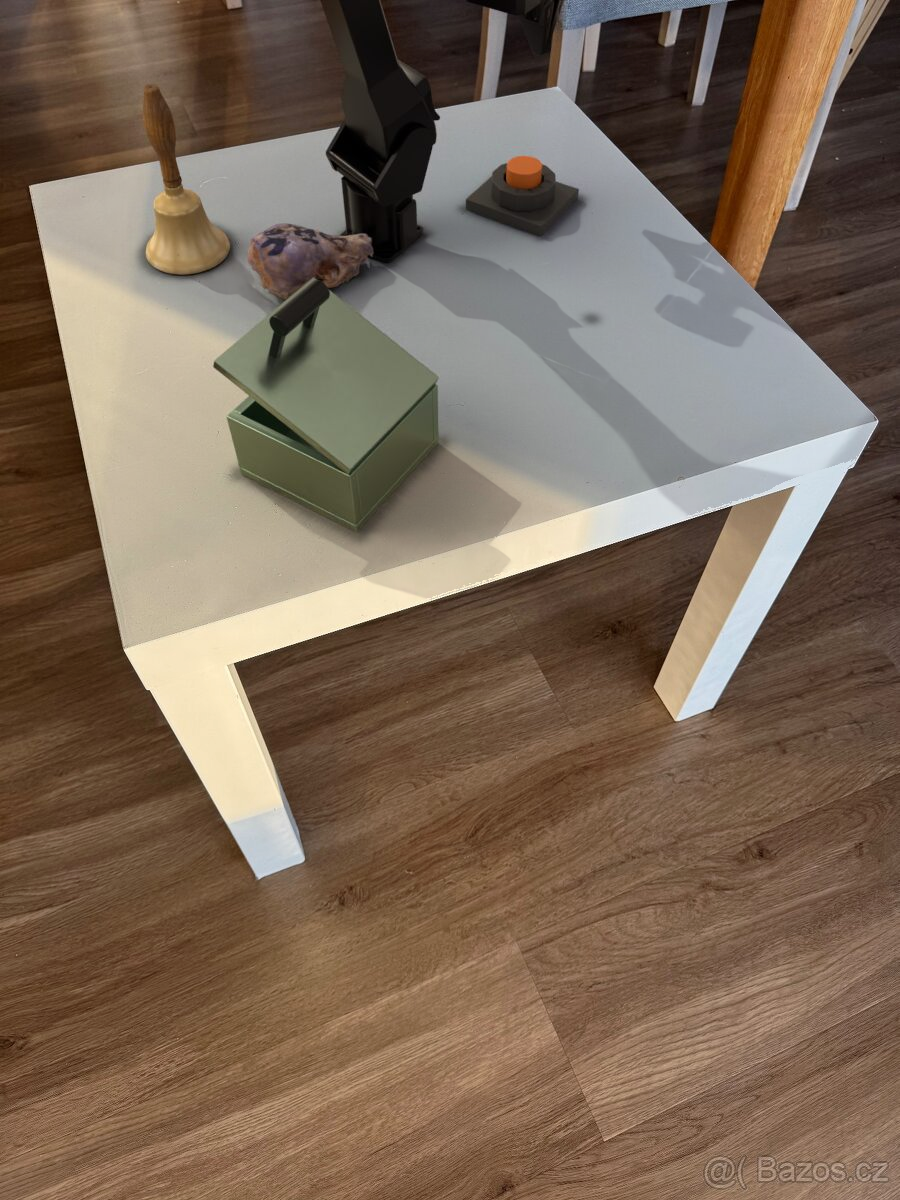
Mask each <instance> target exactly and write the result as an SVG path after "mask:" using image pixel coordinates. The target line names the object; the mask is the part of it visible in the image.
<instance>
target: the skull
mask: <svg viewBox="0 0 900 1200" xmlns="http://www.w3.org/2000/svg"><path fill="white" fill-rule="evenodd" d="M249 241H250V242H249V247H248V252H247V263H248V264H249V266H251V269H252V271H254V272H255V273H256V274H257V275H258V277H259V278H260V280H261V284H260V286H261V287H262V288H263V289H266V290H267V292H268V293H271V294H273V295H274V296H276V297H279V298H281V299H283V300H287V299H288V298H289V297H290V296H292V295H293V294H294V293H295V292H296V291H298V290H299V289H300V288H301V287H302V286H303V285H305V284H306V283H307V282H308V281H309V280H311V279H312V278H313V277H314V278H315V279H316V280H321V281H322V282H323V283H324V284H325V285H326V286H327V287H328V289H330V288H335V287H336V288H337V287H339V286H340V285H341V284H344V283H345V282H347V283H348V282H349V280H351V279H352V278H353V277H356V276H357V275H359V274H360V266H361V264H365V265H366V267H367V268H369V269H371V263H370V259H369V258H368V257H371V258H373V257H372V255H373V253H374V252H373V247H372V245H371V243H372V238H371V237H368V235H367V234H356V235H349V236H339V235H332V234H327V233H324V232H323V231H321V230H320V229H315V228H314V229H313V228H307V227H304V226H302V225H297V224H292V223H287V222H279V223H276V224H274V225H273V226H270V227H269V228H267V229H265V230H264V231H262V232H260V233H258V234H257V235H256V236H254V237H251V238H250V239H249ZM368 255H370V256H368Z"/></svg>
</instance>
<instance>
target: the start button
mask: <svg viewBox="0 0 900 1200" xmlns="http://www.w3.org/2000/svg"><path fill="white" fill-rule="evenodd" d="M506 163H507V172H506V182H507V184H508V185H509V186H512V187H515V188H518V189H531V188H535V187H538V186H539V185H540V184H541V177H542V164H543V163H542V161H541V160H539V159H538V158H536V157H534V156H530V155H519V156H515V157H512V158H511V159H509V160H508V161H507V162H506Z"/></svg>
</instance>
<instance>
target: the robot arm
mask: <svg viewBox="0 0 900 1200" xmlns="http://www.w3.org/2000/svg"><path fill="white" fill-rule="evenodd" d="M319 1H320V4H321V7H322V10H323V12H324V13H323V14H324V16H325V19H326V23H327V24H328V27H329V30H330V33H331V36H332V39H333V41H334V44H335V47H336V50H337V53H338V55H339V59H340V61H341V64H342V65H341V66H342V67H343V71H344V82H343V86H342V91H341V105H342V109H343V115H344V118H343V121H342V122H341V124H340V126H339V128H338V129H337V131H336V133H335V135H334V136H333V138H332V140H331V142H330V143H329V145H328V147H327V148H326V150H325V156H326V159H327V160H328V163H329V165H330V167H331V169H332V170H333V171H335V172H336V173H337V172H338V173H339V174H340V175H342V177H341V178H340V181H341V190H342V191H341V192H342V201H343V212H344V220H345V221H344V222H345V230H344V231H343V232H342V233H340V234H339V235H338V236H349V235H356V234H367V235H368V237H371V238H372V243H371V245H372V247H373V252H374V253H373V255H372V257H371V256H370V255H368V257H371V258H373V259H376V260H379V261H381V262H383V263H391V262H392V261H393V260H394V259H396V257H397V256H399V255H400V254H401V253H402V252H404V251H405V250H406V249H407V248H408V247H409V246H410V245H411V244H412V243H414V241H416V240H417V239H418V238H419V237H421V235H423V234H424V227H423V226H422V225H419V224H418V211H417V210H418V209H417V207H418V206H417V205H418V204H417V200H416V198H414V195H416V194H418V193H421V192H422V190H423V188H424V183H425V180H426V175H427V171H428V167H429V163H430V160H431V156H432V152H433V148H434V145H435V144H436V143H437V136H438V133H437V125H436V122H437V121H440V120H441V116H440V115H439V113H438V112H437V111H436V109H435V106H434V103H433V96H432V87H431V85H430V82H429V79H428V77H426V76H425V75H424V74H422V73H420V72H418V71H417V70H416V69H413V68H412V67H410V66H409V65H408V64H406V63H404V62H403V61H401V60H399V59H398V56H397V54H396V53H397V52H396V50H395V47H394V43H393V40H392V36H391V32H390V28H389V26H388V22H387V18H386V15H385V12H384V9H383V5H382V1H381V0H319ZM465 1H466V2H467V3H469V4H472V5H476V6H480V7H482V8H483V7H484V8H487V9H491V10H495V11H497V12H501V13H505V14H508V15H511V16H516V17H518V19H519V21H520V24H521V26H522V27H521V28H522V30H523V32H524V34H525V37H526V39H527V42H528V44H529V47H530V50H531V52H532V54H533V55H534V56H538V57H543V56H544V55H545V54H547V52H548V49H549V46H550V44H551V40H552V37H553V35H554V32H555V29H556V26H557V23H558V20H559V17H560V14H561V11H562V8H563V6H564V3H565V0H465Z"/></svg>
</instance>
